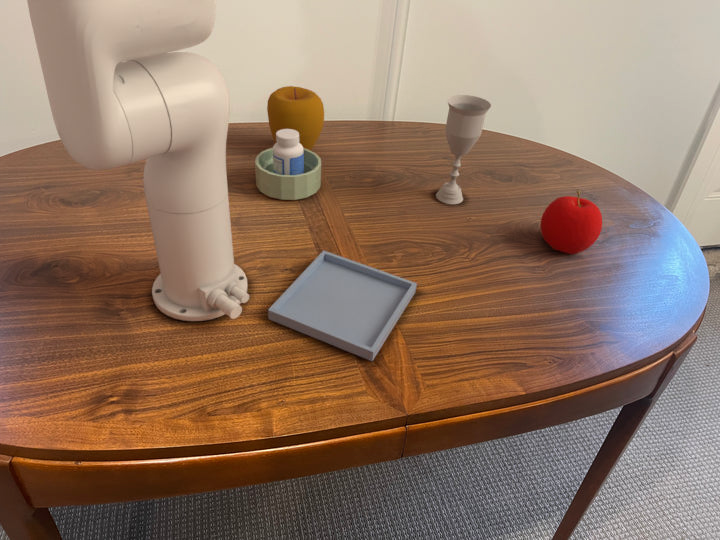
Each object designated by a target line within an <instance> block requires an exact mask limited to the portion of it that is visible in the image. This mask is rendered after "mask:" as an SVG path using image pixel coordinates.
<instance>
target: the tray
mask: <svg viewBox="0 0 720 540" xmlns="http://www.w3.org/2000/svg"><path fill="white" fill-rule="evenodd" d="M417 285H418V283H417V282H414V281H412V280H409V279H407V278H403V277H401V276H397V275H395V274H392V273H390V272H386V271H384V270H381V269H379V268H375V267H372V266H370V265H368V264H367V265H366V264H363V263H360V262H359V261H355V260H352V259H349V258H347V257H344V256H340V255H338V254H336V253H333V252H329V251H327V250H322V251H321V252H320V254H319V255H317V257H316V258H315V259H314V260H313V261H312V262H311V263H310V264H309V265H308V266H307V267H306V268H305V270H304V271H302V273H301V274H299V276H298V277H297V278H296V279H295V280H294V281H293V283H291V284H290V286H289V287H287V289H286V290H284V292H283V293H282V294H281V295H280V296H279V297H278V298H277V300H276V301H274V302H273V304H272V305H271V306H270V307H269V308H268V309H267V319H268V320H270V321H272V322H275V323H277V324H279V325H281V326H284V327H286V328H290V329H292V330H294V331H296V332H299V333H300V334H301V333H302V334H304V335H307V336H309V337H311V338H314V339H316V340H319V341H321V342H323V343H326V344H328V345H331V346H333V347H336V348H338V349H340V350H342V351H345V352H348V353H351V354H353V355H356V356H358V357H360V358H362V359H364V360H365V359H366V360H367V361H369V362H373V361H374V360H375V358H376V357H377V355H378V353H379V352H380V350H381V348H382V347H383V345H384V343H385V342H386V340H387V339H388V337H389V335H390V334H391V332H392V331H393V329H394V327H395V326H396V324H397V323H398V322H399V319H400V318H401V316H402V314H403V313H404V311H405V310H406V308H407V306H408V305H409V303H410V302H411V300H412V298H413V297H414V295H415V294H416V292H417V291H416V290H417Z"/></svg>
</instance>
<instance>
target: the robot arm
mask: <svg viewBox="0 0 720 540" xmlns="http://www.w3.org/2000/svg"><path fill="white" fill-rule="evenodd" d="M26 2H27V6H28V7H27V8H28V12H29V13H28V14H29V18H30V23H31V26H32V31H33V36H34V40H35V44H36V50H37V54H38V58H39V62H40V63H39V64H40V66H41V71H42V75H43V80H44V86H45V90H46V94H47V98H48V99H47V100H48V103H49V108H50V112H51V116H52V119H53V121H54V125H55V128H56V131H57V135H58V137H59V139H60V141H61V143H62V146H63V147H64V149H65V151H66V152H67V154H69V156H70V157H71V158H72V160H74V161H75V162H76V163H77V164H78V165H80V166H81V167H83V168H86V169H88V170H92V171H110V170H114V169H118V168H122V167H125V166H128V165H131V164H134V163H137V162H142V161H144V160H145V164H144V169H143V175H142V176H143V177H142V184H143V186H142V187H143V193H144V198H145V202H146V207H147V213H148V218H149V222H150V223H149V224H150V228H151V232H152V238H153V243H154V247H155V252H156V257H157V262H158V268H159V274H158V275H157V277H156V278H155V279H154V282H153V284H152V286H151V296H152V300H153V303H154V304H155V306H156V308H157V309H158V310H159V311H160V312H161V313H163V314H164V315H166V316H167V317H170V318H172V319H175V320H180V321H182V322H183V321H185V322H202V321H210V320H215V319H216V318H220V317H222V316H225V315H226V316H228V317H229V318H230V319H231V320H235V319H237V318H239V317H240V315H241V314H242V312H243V307H242V305H241V304H246V303H248V301H249V300H250V294H249V293H248V286H249V285H248V278H247V276H246V273H245V272H244V270H243V269H242V268H241V267H240V266H239V265H237V264H235V256H234V246H233V245H234V244H233V234H232V233H233V232H232V224H231V223H232V222H231V221H232V220H231V214H230V212H231V211H230V202H229V201H230V200H229V187H228V177H227V175H228V173H227V138H228V131H229V123H230V113H231V103H230V92H229V88H228V85H227V83H226V79H225V77H224V76H223V74H222V72H221V71H220V69H219V68H218V66H216V64H215V63H213V62H212V60H210V59H208V58H206V57H205V56H202V55H200V54H197V53H194V52H187V51H181V50H185V49H190V48H192V47H193V48H194V47H196V46H199V45H200V44H202V43H204V42H205V41H207V39H209V37H210V36H211V34H212V32H213V29H214V26H215V20H216V14H217V13H216V12H217V0H26Z"/></svg>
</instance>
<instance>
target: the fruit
mask: <svg viewBox="0 0 720 540" xmlns="http://www.w3.org/2000/svg"><path fill="white" fill-rule="evenodd" d="M580 194H581V190H577V191H576V196H571V195H565V196H560V197H557V198H555V199H553V201H551V202H550V203H549V205H548V206H547V207H546V208H545V209H544V212H543V213H542V215H541V218H540V232H541V236H542V238H543V240H544V241H545V243H546V244H548V245H549V246H550V247H551V248H552V249H553V250H555V251H557V252H561V253H564V254H565V253H566V254H569V255H576V254H579V253H582V252H584V251H586V250H588V249H589V248H590V247H591V246H593V245H594V244H595V243H596V241H597V240H598V239H599V237H600V235H601V232H602V228H603V216H602V212H601V210H600V208H599V207H598V206H597V204H595V203H594V202H592V200H589V199H586V198H584V197H583V198H582V197H580Z"/></svg>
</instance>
